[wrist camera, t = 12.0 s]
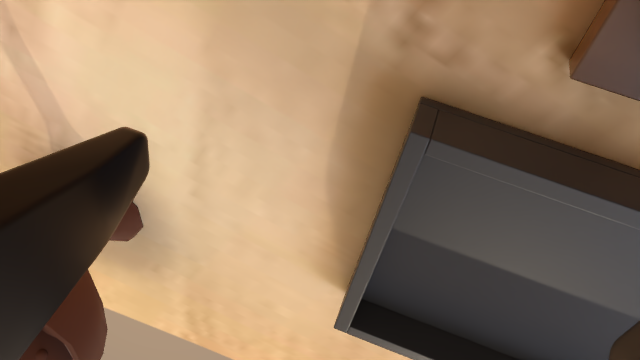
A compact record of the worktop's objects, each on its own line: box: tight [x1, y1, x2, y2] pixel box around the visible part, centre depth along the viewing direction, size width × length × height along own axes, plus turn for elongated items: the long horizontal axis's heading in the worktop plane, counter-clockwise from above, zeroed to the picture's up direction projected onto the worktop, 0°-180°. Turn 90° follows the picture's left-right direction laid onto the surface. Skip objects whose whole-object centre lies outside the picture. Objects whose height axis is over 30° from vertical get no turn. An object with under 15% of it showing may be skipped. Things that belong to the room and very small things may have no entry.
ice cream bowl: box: [19, 202, 143, 360], centre depth 28 cm, size 11×11×15 cm
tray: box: [334, 97, 640, 360], centre depth 24 cm, size 18×15×2 cm
